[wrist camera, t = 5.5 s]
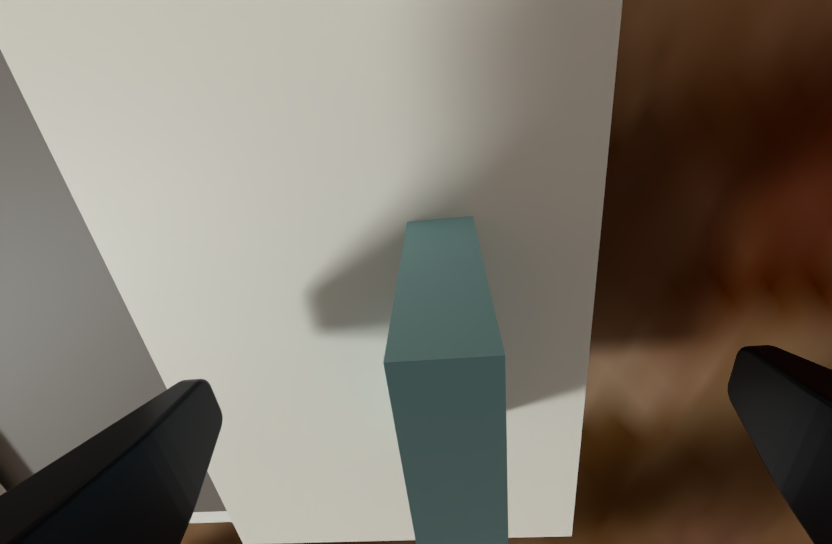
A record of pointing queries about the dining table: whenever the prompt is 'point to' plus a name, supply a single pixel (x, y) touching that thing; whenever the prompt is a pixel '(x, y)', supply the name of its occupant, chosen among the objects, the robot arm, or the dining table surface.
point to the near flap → (349, 240)
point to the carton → (60, 316)
